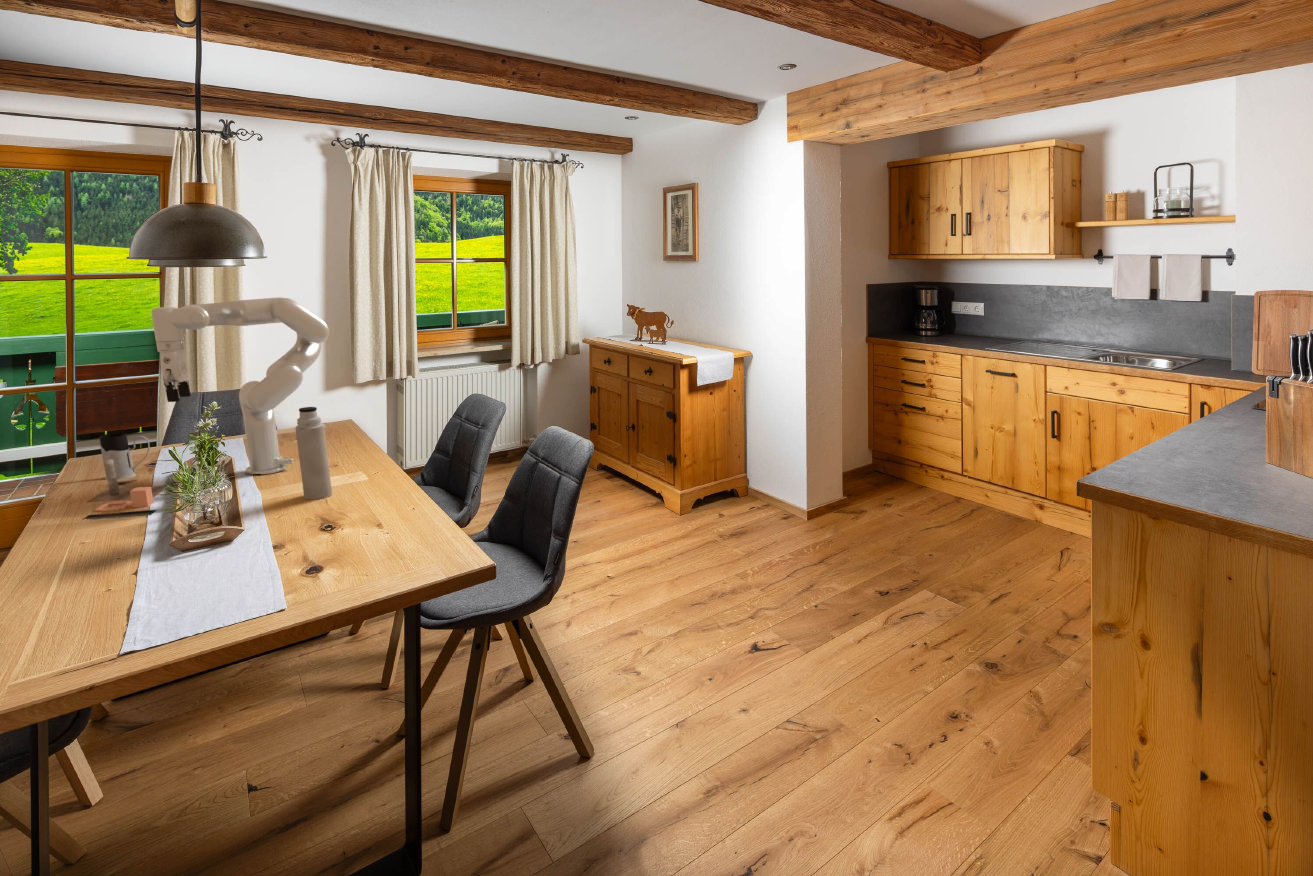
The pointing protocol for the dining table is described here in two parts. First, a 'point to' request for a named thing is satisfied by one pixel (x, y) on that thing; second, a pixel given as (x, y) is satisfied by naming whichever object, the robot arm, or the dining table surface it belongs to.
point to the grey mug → (119, 453)
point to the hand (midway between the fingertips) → (179, 399)
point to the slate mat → (121, 514)
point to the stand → (114, 491)
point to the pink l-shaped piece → (138, 499)
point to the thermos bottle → (313, 455)
